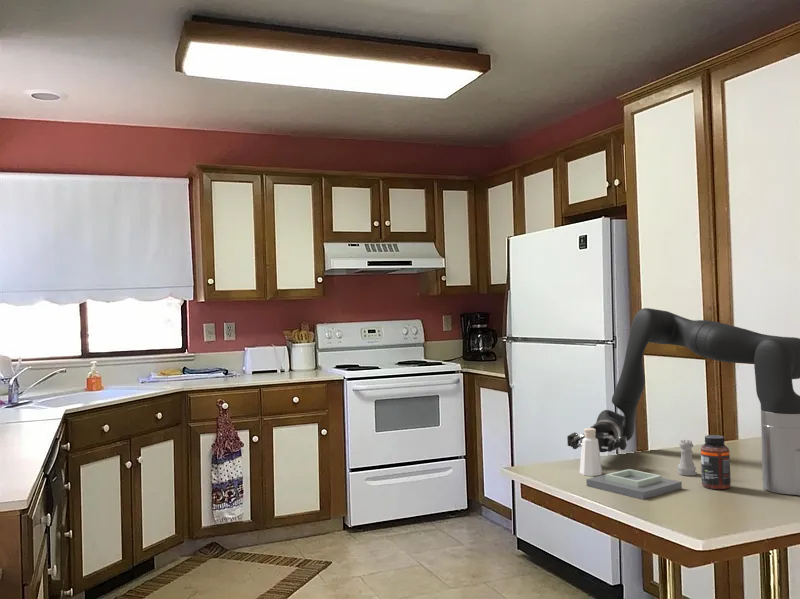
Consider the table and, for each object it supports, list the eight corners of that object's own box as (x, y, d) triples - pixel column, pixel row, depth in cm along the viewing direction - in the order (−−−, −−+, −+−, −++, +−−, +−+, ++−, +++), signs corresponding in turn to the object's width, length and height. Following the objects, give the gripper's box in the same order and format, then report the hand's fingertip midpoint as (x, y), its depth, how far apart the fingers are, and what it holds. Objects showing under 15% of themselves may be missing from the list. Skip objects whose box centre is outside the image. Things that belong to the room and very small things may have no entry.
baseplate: (681, 488, 158) (681, 476, 158) (643, 499, 150) (642, 486, 150) (625, 476, 170) (624, 465, 170) (586, 485, 162) (586, 473, 162)
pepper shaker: (593, 477, 170) (592, 431, 170) (574, 473, 174) (573, 428, 174) (606, 473, 173) (605, 428, 173) (588, 470, 177) (587, 425, 178)
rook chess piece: (698, 476, 169) (697, 442, 169) (678, 476, 170) (678, 442, 170) (694, 472, 173) (694, 439, 173) (675, 471, 174) (674, 439, 174)
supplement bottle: (732, 485, 160) (730, 435, 160) (729, 491, 155) (728, 439, 155) (703, 482, 163) (702, 433, 163) (699, 488, 158) (698, 437, 158)
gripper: (576, 419, 192) (562, 429, 178) (631, 422, 186) (621, 432, 172) (577, 447, 192) (563, 459, 178) (632, 451, 186) (621, 463, 171)
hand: (591, 446), depth 175 cm, fingers open, 8 cm apart
